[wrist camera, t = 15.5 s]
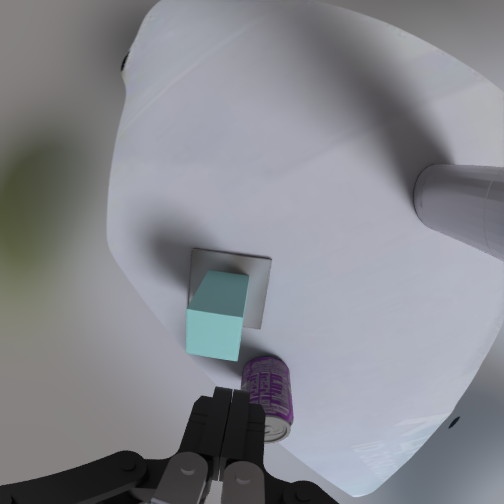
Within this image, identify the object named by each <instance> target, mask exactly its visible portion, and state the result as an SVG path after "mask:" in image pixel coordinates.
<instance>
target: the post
mask: <svg viewBox="0 0 504 504" xmlns="http://www.w3.org/2000/svg"><path fill="white" fill-rule="evenodd" d="M271 262H272V259H267V258H259V257H252V256H245V255H237V254H230V253H223V252H215V251H208V250H201V249H194V248H193V249H192V257H191V274H190V296H189V304H190V302H191V300H192V298H193V297H194V295H195V293H196V291H197V290H198V288H199V286H200V284H201V283H202V281H203V279H204V277H205V276H206V274H207V272H208V270H211V271H219V272H226V273H233V274H241V275H248V276H249V283H248V291H247V299H246V307H245V314H244V321H243V327H246V328H253V329H261V323H262V318H263V312H264V306H265V300H266V294H267V287H268V281H269V275H270V269H271Z"/></svg>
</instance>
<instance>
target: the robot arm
mask: <svg viewBox="0 0 504 504" xmlns="http://www.w3.org/2000/svg"><path fill="white" fill-rule="evenodd" d="M414 205H415V209H416V212H417V214H418V217H419V218H420V220H421V221H422V223H424V224H425V225H426V226H427V227H429V228H431V229H433V230H435V231H438V232H440V233H443V234H445V235H447V236H449V237H452V238H454V239H456V240H459V241H461V242H463V243H466V244H468V245H470V246H472V247H474V248H477V249H479V250H481V251H483V252H485V253H487V254H489V255H492V256H494V257H496V258H498V259H500V260H502V261H504V167H491V166H474V165H449V164H435V165H431V166H429V167H427V168H426V169H425V170H423V171H422V173H421V174H420V175H419V177H418V179H417V182H416V185H415V189H414ZM232 390H233V389H229V388H223V387H217V386H216V387H215V390H214V394H213V397H207V396H201V397H200V398H199V399H198V400H197V401H196V402H195V403H194V405H193V408H192V412H191V415H190V418H189V421H188V423H187V426H186V430H185V433H184V436H183V439H182V442H181V445H180V448H179V450H178V451H177V453H176V454H175V455H173V456H172V457H170V458H167V459H160V460H156V459H144V458H143V457H142V456H140V455H139V454H138V453H136V452H133V451H120V452H117V453H114V454H112V455H110V456H107V457H104V458H101V459H99V460H96V461H93V462H90V463H88V464H85V465H82V466H79V467H76V468H73V469H69V470H66V471H63V472H59V473H56V474H52V475H49V476H45V477H41V478H37V479H32V480H29V481H23V482H18V483H13V484H7V485H2V486H0V504H205V503H206V500H207V497H208V494H209V492H210V487H211V482H212V480H215V481H217V480H218V475H219V470H220V477H219V481H222V482H223V486H222V495H221V504H339V503H338V502H336V501H335V500H334V499H333V498H331V497H330V496H329V495H328V494H327V493H326V492H324V491H323V490H322V489H321V488H320V487H319V486H318V485H316V484H314V483H313V482H310V481H296V482H293V483H289V482H286V481H283V480H280V479H277V478H274V477H273V476H271V475H270V474H269V473H268V472H267V471H266V470H265V468H264V464H263V455H264V438H265V420H266V413H265V411H264V409H263V407H262V405H261V404H253V403H249V402H250V393H251V391H243V390H236V389H234V391H233V397H232ZM231 400H232V402H231Z"/></svg>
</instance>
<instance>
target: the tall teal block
mask: <svg viewBox="0 0 504 504" xmlns="http://www.w3.org/2000/svg"><path fill="white" fill-rule="evenodd" d="M248 283H249V276H248V275H241V274H233V273H226V272H219V271H211V270H208V272H207V274H206V276H205V277H204V279H203V281H202V283H201V284H200V286H199V288H198V290H197V291H196V293H195V295H194V297H193V298H192V300H191V302H190V304H189V305H188V307H187V310H186V353H189V354H194V355H200V356H205V357H211V358H218V359H224V360H231V361H238V354H239V347H240V341H241V334H242V328H243V321H244V314H245V307H246V299H247V291H248Z"/></svg>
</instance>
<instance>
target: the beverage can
mask: <svg viewBox="0 0 504 504" xmlns="http://www.w3.org/2000/svg"><path fill="white" fill-rule="evenodd" d="M241 390H243V391H251V393H250V402H249V403H253V404H261V405H262V407H263V409H264V411H265V413H266V420H265V438H264V444H268V443H275V442H279V441H281V440H283V439H285V438H286V437H287V436H288V435H289V434H290V431H291V429H290V427H291V425H292V423H293V406H292V395H291V384H290V373H289V369H288V367H287V365H286V364H285V363H284V362H282V361H281V360H279V359H276V358H272V357H260V358H256V359H254V360H252V361H250V362H249V363H247V364H246V366H245V367H244V369H243V373H242V382H241Z"/></svg>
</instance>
